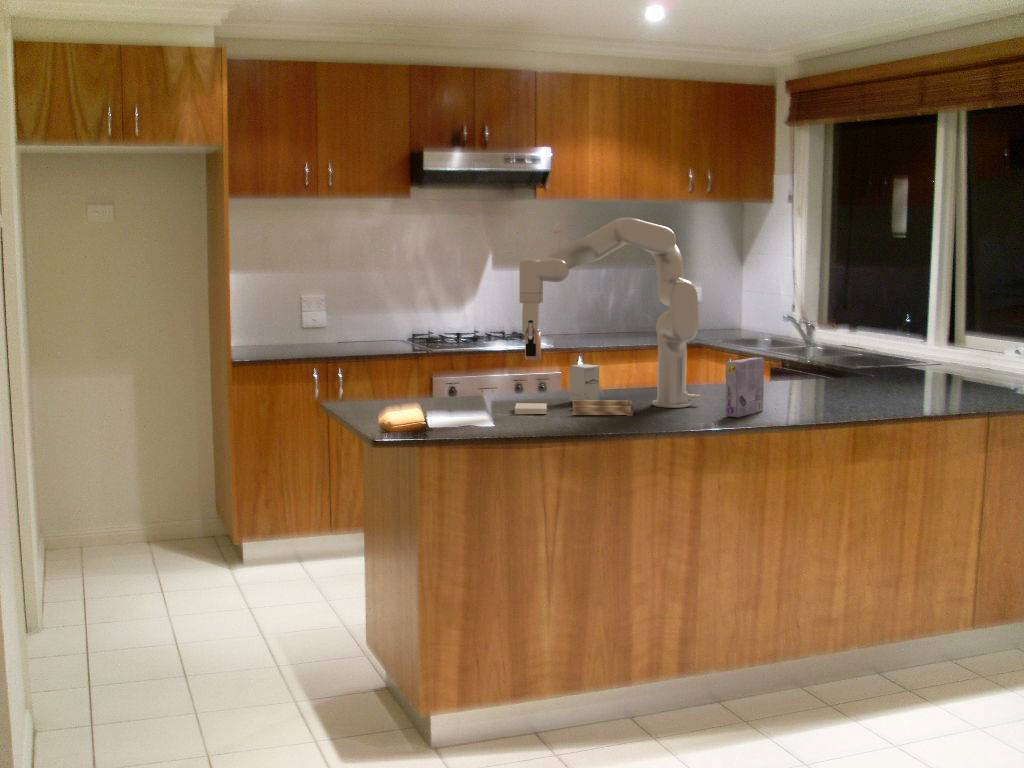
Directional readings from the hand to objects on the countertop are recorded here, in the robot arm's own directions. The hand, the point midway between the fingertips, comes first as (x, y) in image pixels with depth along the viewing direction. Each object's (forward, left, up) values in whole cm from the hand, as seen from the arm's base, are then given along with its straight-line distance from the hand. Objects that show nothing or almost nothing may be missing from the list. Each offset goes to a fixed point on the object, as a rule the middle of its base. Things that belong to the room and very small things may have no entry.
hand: (531, 354), depth 351 cm
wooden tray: (-23, 0, -19) cm, 30 cm away
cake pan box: (-69, 0, -19) cm, 71 cm away
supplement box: (-18, -20, -19) cm, 33 cm away
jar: (-1, 0, -2) cm, 2 cm away
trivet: (0, 0, -19) cm, 19 cm away
